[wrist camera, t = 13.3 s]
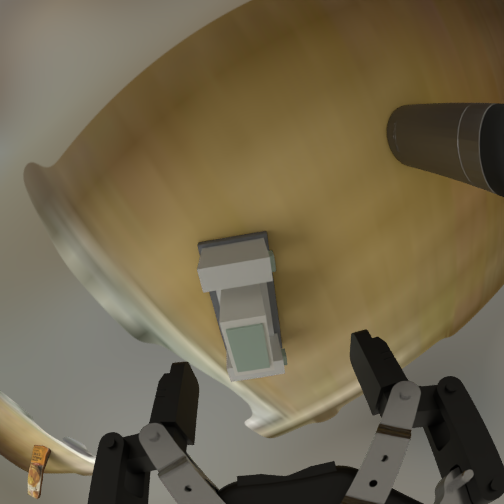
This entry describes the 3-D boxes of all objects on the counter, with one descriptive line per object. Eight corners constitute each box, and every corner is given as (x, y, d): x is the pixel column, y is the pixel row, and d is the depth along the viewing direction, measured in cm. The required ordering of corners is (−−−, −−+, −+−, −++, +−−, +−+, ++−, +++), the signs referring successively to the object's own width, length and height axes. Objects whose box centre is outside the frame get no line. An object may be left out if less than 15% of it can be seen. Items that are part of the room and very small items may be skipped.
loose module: (257, 275, 37) (265, 316, 29) (266, 326, 41) (274, 371, 32) (221, 281, 37) (219, 324, 29) (233, 332, 41) (235, 377, 32)
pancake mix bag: (58, 453, 67) (44, 502, 42) (41, 452, 70) (27, 495, 44) (46, 445, 65) (30, 495, 39) (30, 444, 67) (15, 487, 42)
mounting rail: (266, 230, 36) (274, 252, 30) (281, 344, 44) (289, 374, 38) (198, 242, 36) (191, 266, 30) (228, 352, 44) (228, 383, 38)
